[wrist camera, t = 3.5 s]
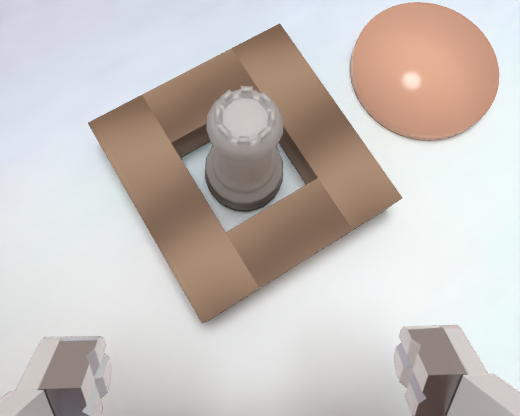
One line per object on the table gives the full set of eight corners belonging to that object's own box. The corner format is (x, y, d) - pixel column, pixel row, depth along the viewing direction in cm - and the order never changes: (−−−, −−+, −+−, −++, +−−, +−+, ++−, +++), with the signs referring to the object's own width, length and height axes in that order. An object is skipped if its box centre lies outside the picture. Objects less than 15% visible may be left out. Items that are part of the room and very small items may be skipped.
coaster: (322, 49, 27) (324, 42, 26) (434, -11, 28) (440, -20, 28) (406, 166, 25) (411, 162, 25) (520, 96, 27) (528, 90, 26)
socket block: (102, 140, 25) (87, 123, 23) (276, 49, 27) (279, 23, 24) (206, 322, 23) (202, 323, 20) (386, 208, 25) (402, 197, 22)
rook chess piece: (272, 220, 24) (287, 179, 17) (196, 201, 24) (175, 151, 17) (289, 149, 25) (311, 78, 18) (216, 131, 25) (205, 52, 18)
